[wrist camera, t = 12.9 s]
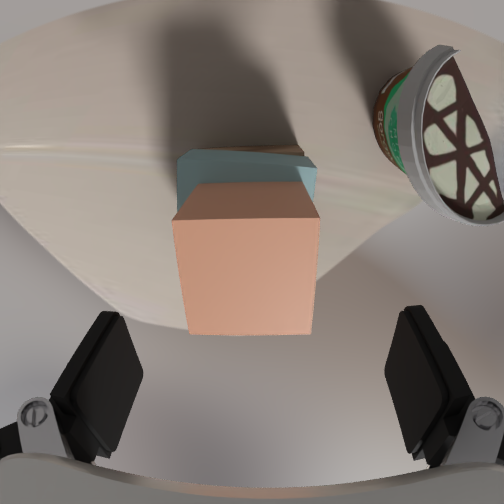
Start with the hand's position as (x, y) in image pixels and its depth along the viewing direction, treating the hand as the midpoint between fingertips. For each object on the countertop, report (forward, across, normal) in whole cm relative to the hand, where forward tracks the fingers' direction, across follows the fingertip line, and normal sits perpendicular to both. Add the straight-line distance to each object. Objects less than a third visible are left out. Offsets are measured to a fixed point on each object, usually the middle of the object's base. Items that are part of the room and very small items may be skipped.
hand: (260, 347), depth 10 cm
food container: (+18, -11, -5) cm, 22 cm away
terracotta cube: (+10, +1, 0) cm, 10 cm away
